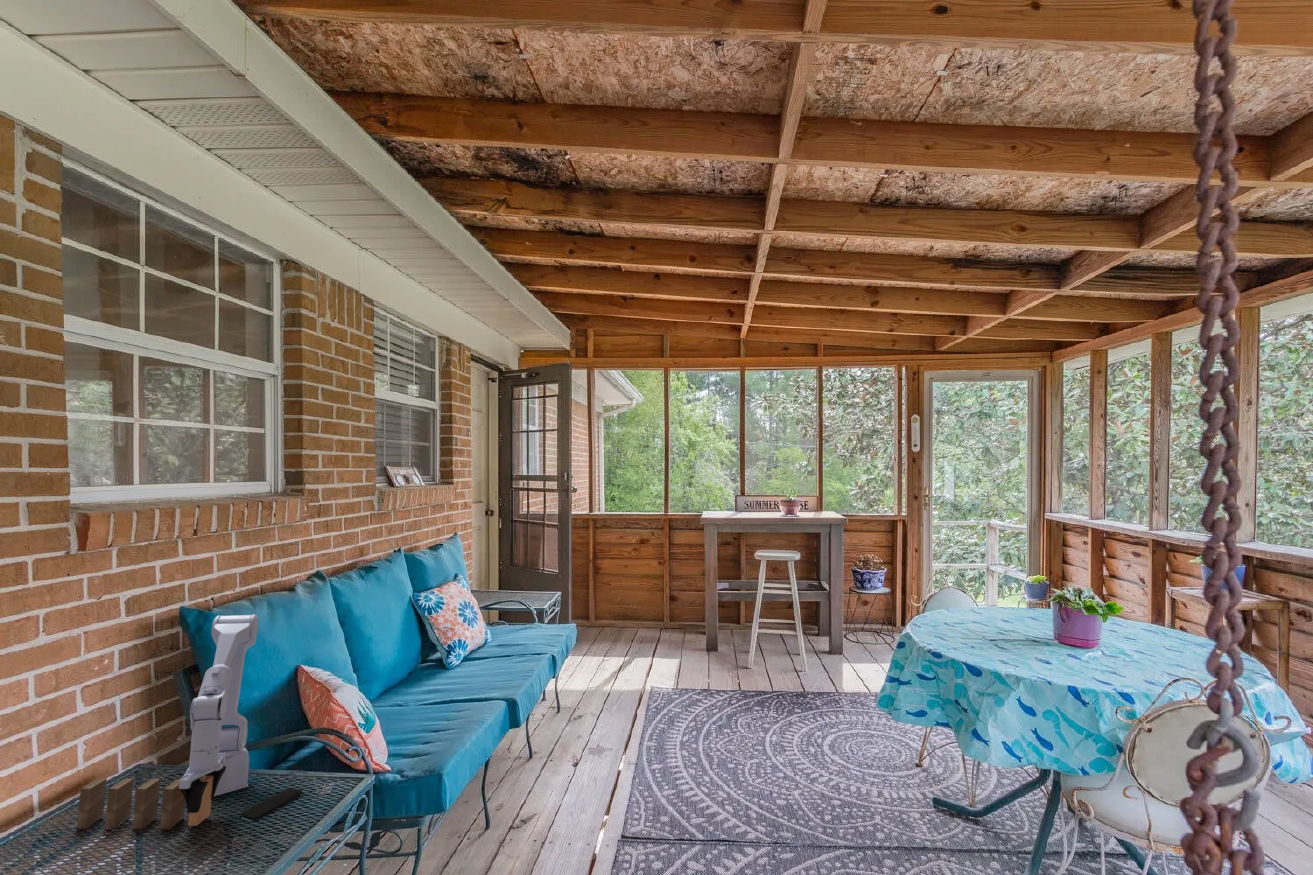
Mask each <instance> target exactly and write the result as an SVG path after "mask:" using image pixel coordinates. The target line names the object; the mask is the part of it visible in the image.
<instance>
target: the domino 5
mask: <svg viewBox="0 0 1313 875" xmlns="http://www.w3.org/2000/svg"><path fill="white" fill-rule="evenodd" d="M200 780H201V782H208V784H207V786H206V788H205V790H204V793H203V796H202V801H201V806H200V809H199V811H198V812H197V813H188V821H187V826H196V827H197V826H199V824H201V823H202V822H204V820H206V819H207V818H208V817H209V816H210V815H211V809H212V801H211V795H212V786H213V776H203V777H202V778H201V779H200Z"/></svg>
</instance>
